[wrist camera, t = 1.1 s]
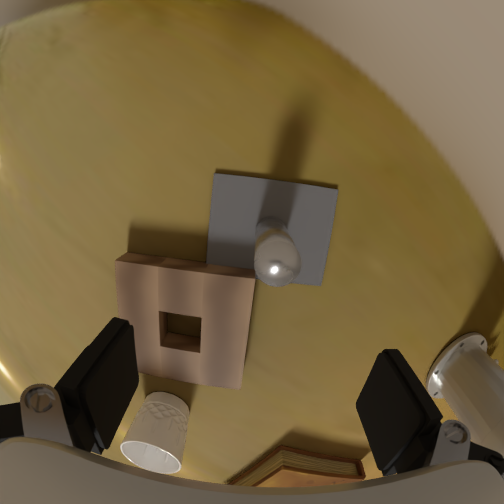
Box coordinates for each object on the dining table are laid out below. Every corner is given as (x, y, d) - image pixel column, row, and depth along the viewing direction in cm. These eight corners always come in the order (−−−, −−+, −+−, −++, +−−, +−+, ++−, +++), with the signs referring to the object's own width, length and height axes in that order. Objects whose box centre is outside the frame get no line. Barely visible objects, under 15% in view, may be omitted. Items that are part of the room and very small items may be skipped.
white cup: (156, 423, 36) (139, 471, 27) (133, 389, 34) (108, 438, 25) (201, 422, 36) (191, 475, 26) (181, 386, 34) (163, 442, 24)
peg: (288, 218, 27) (305, 244, 17) (283, 248, 28) (297, 288, 18) (257, 214, 27) (257, 238, 17) (253, 245, 28) (251, 283, 18)
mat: (337, 189, 26) (338, 189, 26) (320, 284, 29) (320, 285, 29) (214, 173, 26) (214, 173, 26) (206, 271, 29) (205, 272, 29)
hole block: (255, 268, 29) (255, 279, 26) (241, 373, 33) (240, 389, 30) (127, 252, 29) (114, 260, 26) (134, 355, 32) (126, 369, 30)
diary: (292, 500, 46) (293, 518, 40) (220, 486, 43) (218, 507, 38) (360, 458, 40) (367, 480, 34) (281, 442, 38) (282, 470, 32)
